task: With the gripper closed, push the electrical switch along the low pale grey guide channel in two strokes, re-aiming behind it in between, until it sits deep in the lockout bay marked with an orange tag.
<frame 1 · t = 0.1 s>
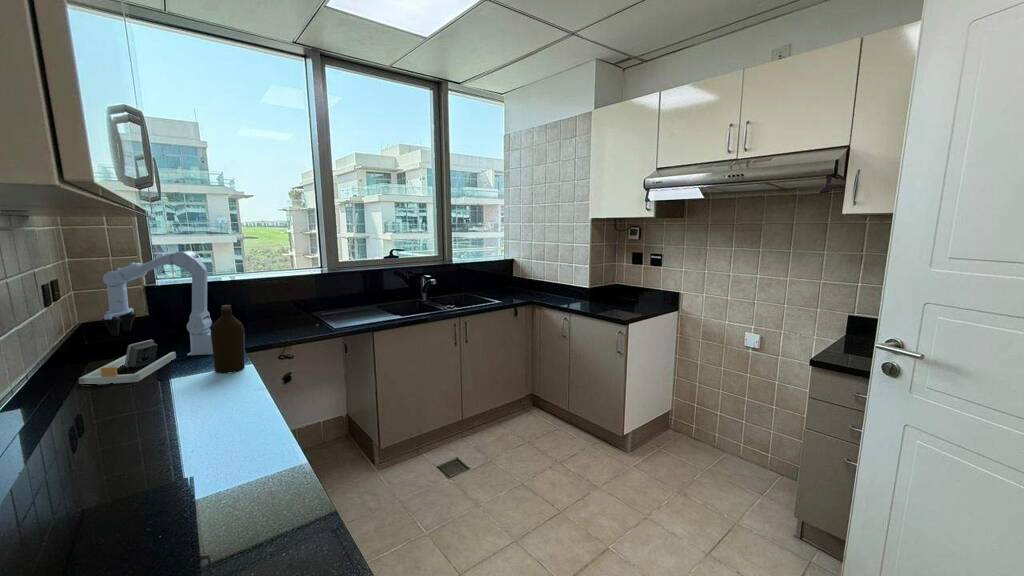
hand: (121, 333, 170), 10 cm above the counter, tool pointing down, fingers open, 7 cm apart
lockout bay: (132, 370, 156), on the counter
olive oil: (230, 370, 160), on the counter
electrical switch: (143, 364, 163), on the counter
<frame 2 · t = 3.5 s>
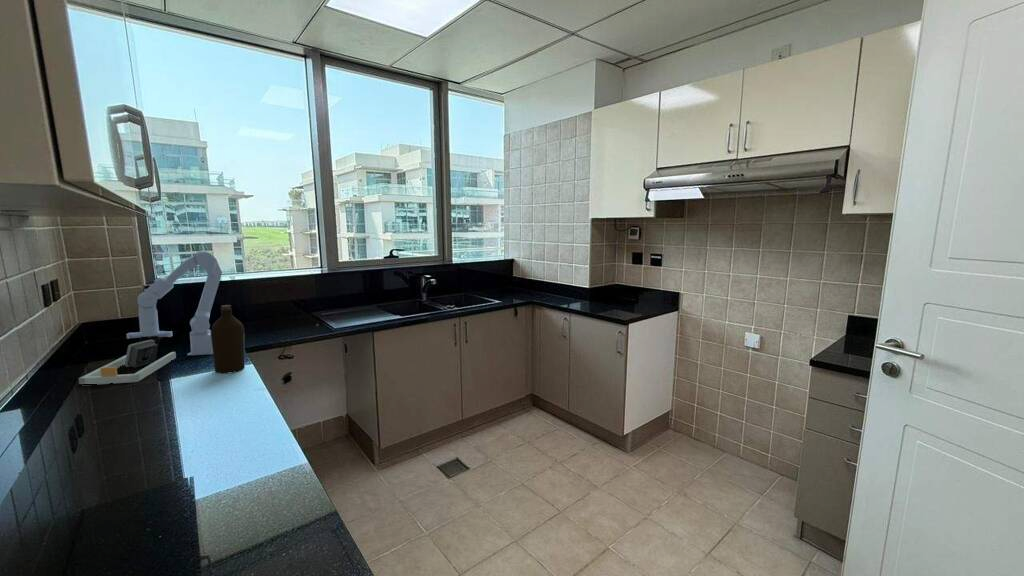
hand: (151, 354, 169), 2 cm above the counter, tool pointing down, fingers closed
electrical switch: (143, 364, 163), on the counter, touching gripper
everything else where it was.
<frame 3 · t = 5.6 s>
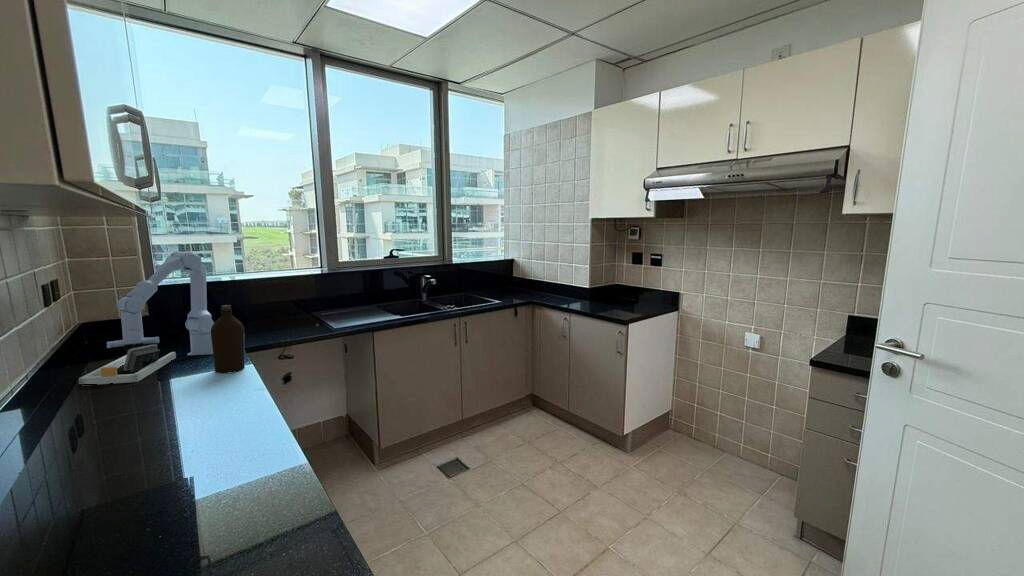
hand: (135, 363, 158), 2 cm above the counter, tool pointing down, fingers closed
electrical switch: (143, 369, 157), on the counter
everything else where it was.
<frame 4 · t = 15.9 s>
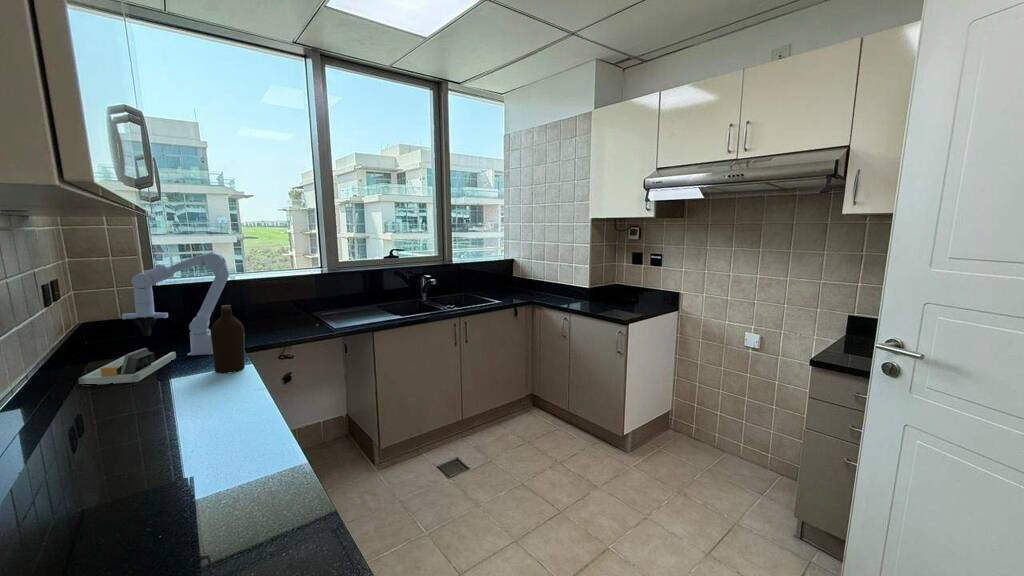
hand: (147, 335, 170), 9 cm above the counter, tool pointing down, fingers closed
electrical switch: (138, 375, 152), on the counter
everything else where it was.
at the end: electrical switch inside the target area (3.3 cm from its centre), on the counter; electrical switch tilted 0° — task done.
